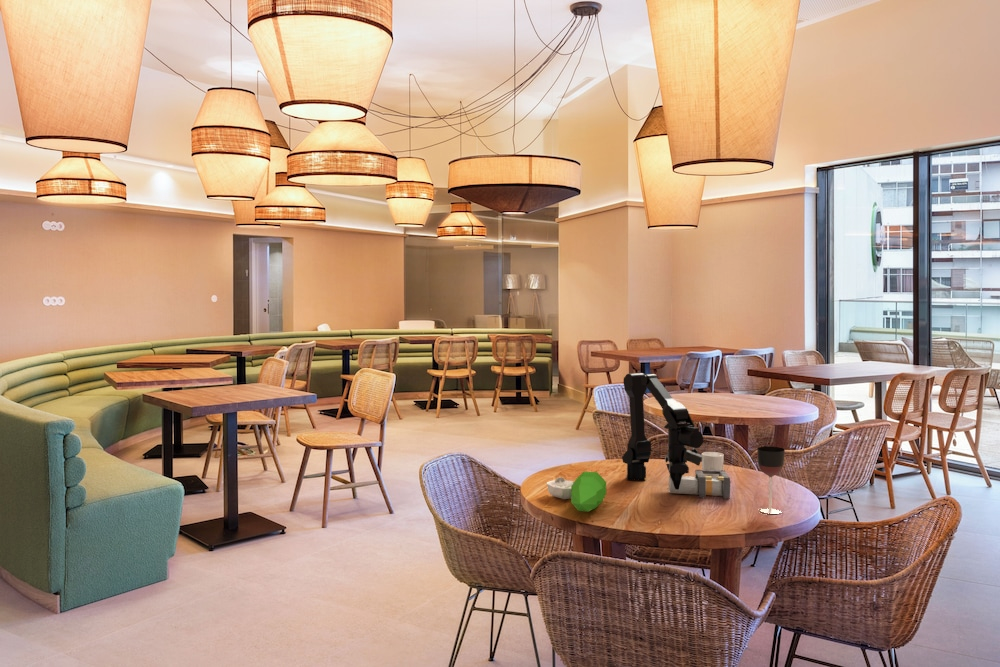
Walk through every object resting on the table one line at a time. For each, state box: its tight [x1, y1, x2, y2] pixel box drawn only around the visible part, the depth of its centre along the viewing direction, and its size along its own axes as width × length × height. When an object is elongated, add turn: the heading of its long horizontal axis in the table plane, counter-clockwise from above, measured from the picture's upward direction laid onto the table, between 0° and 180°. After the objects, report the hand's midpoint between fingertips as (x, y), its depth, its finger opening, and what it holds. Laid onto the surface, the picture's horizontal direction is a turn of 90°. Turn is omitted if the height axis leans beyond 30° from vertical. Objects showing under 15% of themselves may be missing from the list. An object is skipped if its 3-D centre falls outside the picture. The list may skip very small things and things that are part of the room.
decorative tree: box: [570, 471, 607, 512], centre depth 236 cm, size 11×12×30 cm
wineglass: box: [756, 445, 786, 514], centre depth 232 cm, size 8×9×20 cm
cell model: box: [546, 476, 574, 500], centre depth 250 cm, size 10×12×7 cm
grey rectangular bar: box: [668, 474, 723, 497], centre depth 254 cm, size 20×4×5 cm, turn 82°
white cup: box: [701, 451, 725, 478], centre depth 272 cm, size 8×8×10 cm
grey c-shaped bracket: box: [694, 469, 731, 500], centre depth 253 cm, size 10×11×7 cm
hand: (676, 487), depth 255 cm, fingers closed on grey rectangular bar, 4 cm apart
